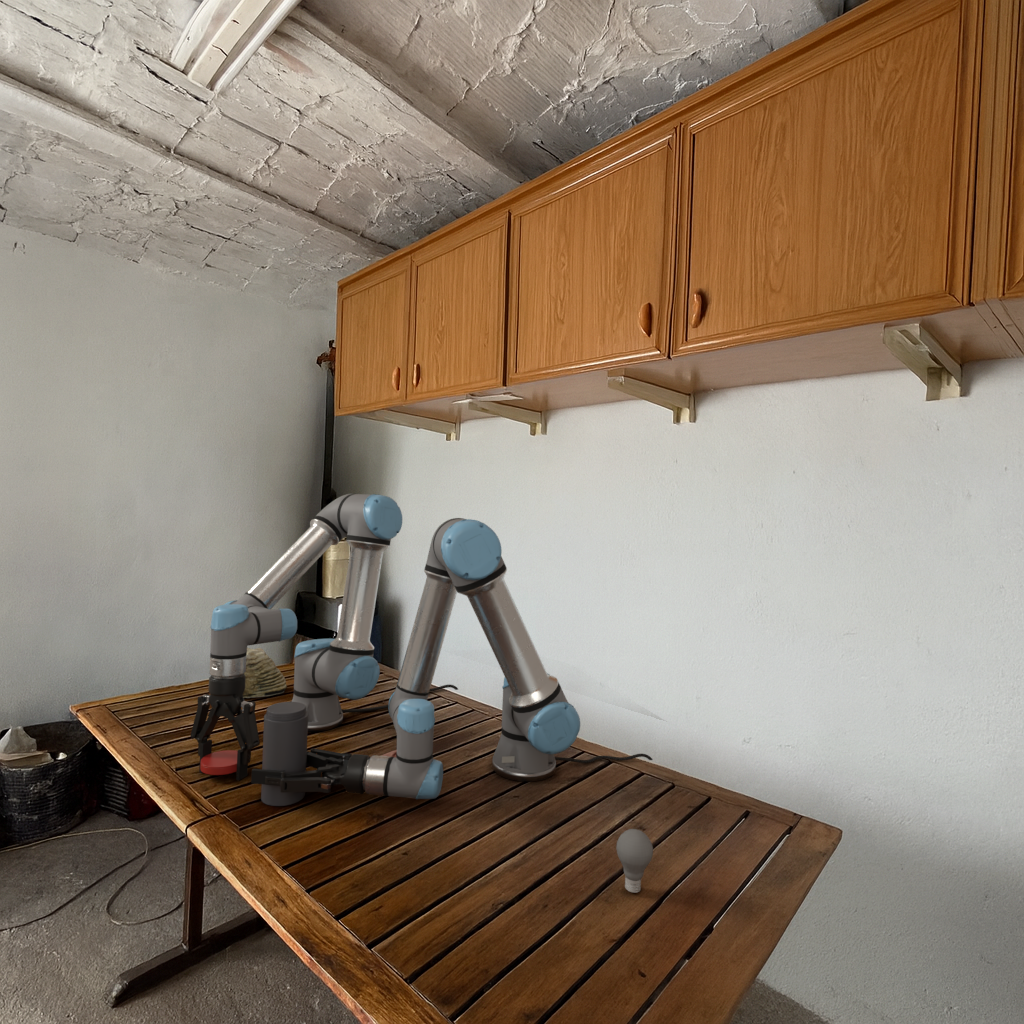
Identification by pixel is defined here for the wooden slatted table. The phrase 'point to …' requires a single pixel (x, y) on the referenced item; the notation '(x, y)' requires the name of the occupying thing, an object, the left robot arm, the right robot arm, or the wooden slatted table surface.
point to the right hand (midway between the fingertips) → (263, 766)
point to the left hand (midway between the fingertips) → (223, 773)
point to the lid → (219, 763)
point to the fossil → (262, 675)
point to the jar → (284, 748)
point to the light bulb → (634, 857)
